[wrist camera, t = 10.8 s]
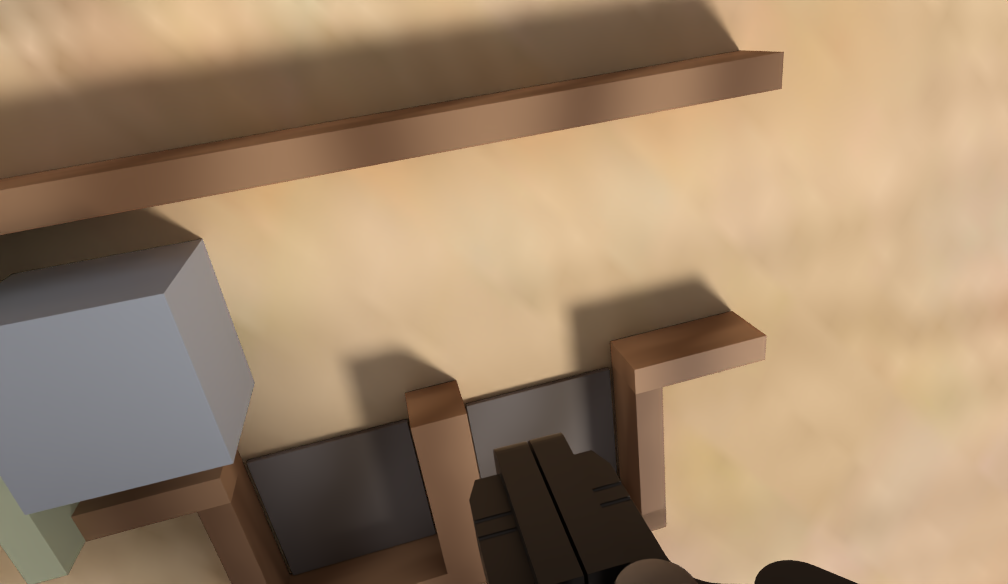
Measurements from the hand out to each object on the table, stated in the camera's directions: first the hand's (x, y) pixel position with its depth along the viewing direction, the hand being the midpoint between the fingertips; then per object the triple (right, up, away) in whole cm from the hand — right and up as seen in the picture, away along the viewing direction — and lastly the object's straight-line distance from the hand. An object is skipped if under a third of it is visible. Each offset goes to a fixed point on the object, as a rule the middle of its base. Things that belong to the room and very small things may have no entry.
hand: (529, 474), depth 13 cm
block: (-14, +2, +9) cm, 16 cm away
